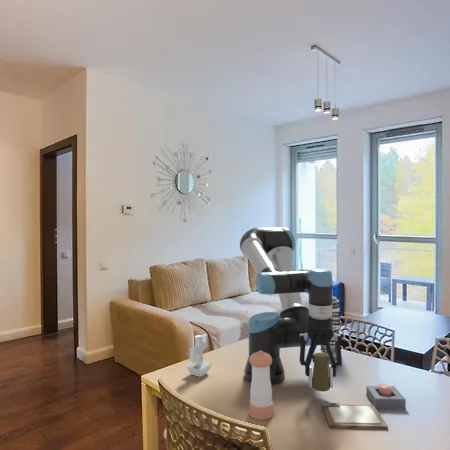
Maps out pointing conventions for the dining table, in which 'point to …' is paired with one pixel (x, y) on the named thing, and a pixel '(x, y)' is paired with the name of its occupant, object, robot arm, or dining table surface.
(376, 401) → the button housing
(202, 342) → the figurine
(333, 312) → the decorative candle
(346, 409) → the clipboard
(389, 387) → the button
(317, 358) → the pepper shaker
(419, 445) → the dining table surface
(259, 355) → the pepper shaker
